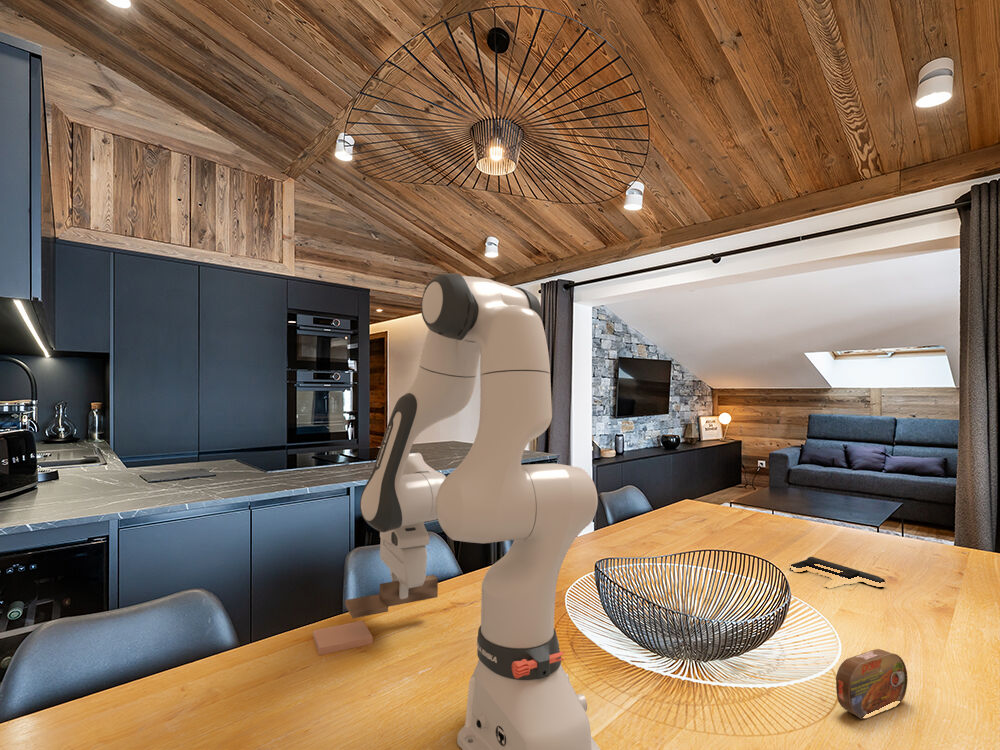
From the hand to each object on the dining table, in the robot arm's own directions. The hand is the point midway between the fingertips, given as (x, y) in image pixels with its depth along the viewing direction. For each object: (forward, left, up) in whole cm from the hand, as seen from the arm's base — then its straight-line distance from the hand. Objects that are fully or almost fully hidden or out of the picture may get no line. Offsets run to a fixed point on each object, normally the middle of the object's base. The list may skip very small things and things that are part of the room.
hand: (399, 594), depth 107 cm
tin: (-60, -60, -7) cm, 85 cm away
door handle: (-24, -115, -8) cm, 118 cm away
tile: (0, +7, -7) cm, 9 cm away
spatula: (0, +1, -2) cm, 2 cm away
